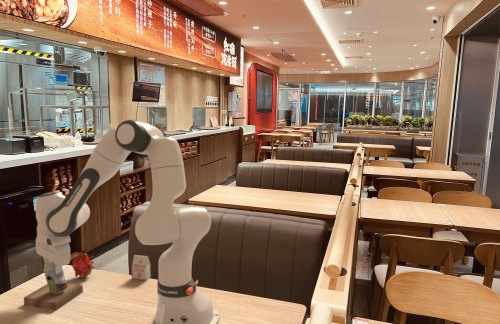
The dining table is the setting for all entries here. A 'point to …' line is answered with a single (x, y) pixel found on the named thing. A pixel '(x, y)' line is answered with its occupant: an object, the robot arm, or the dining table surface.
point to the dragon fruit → (82, 264)
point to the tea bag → (141, 268)
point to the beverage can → (54, 278)
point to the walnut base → (52, 297)
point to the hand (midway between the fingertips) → (53, 270)
